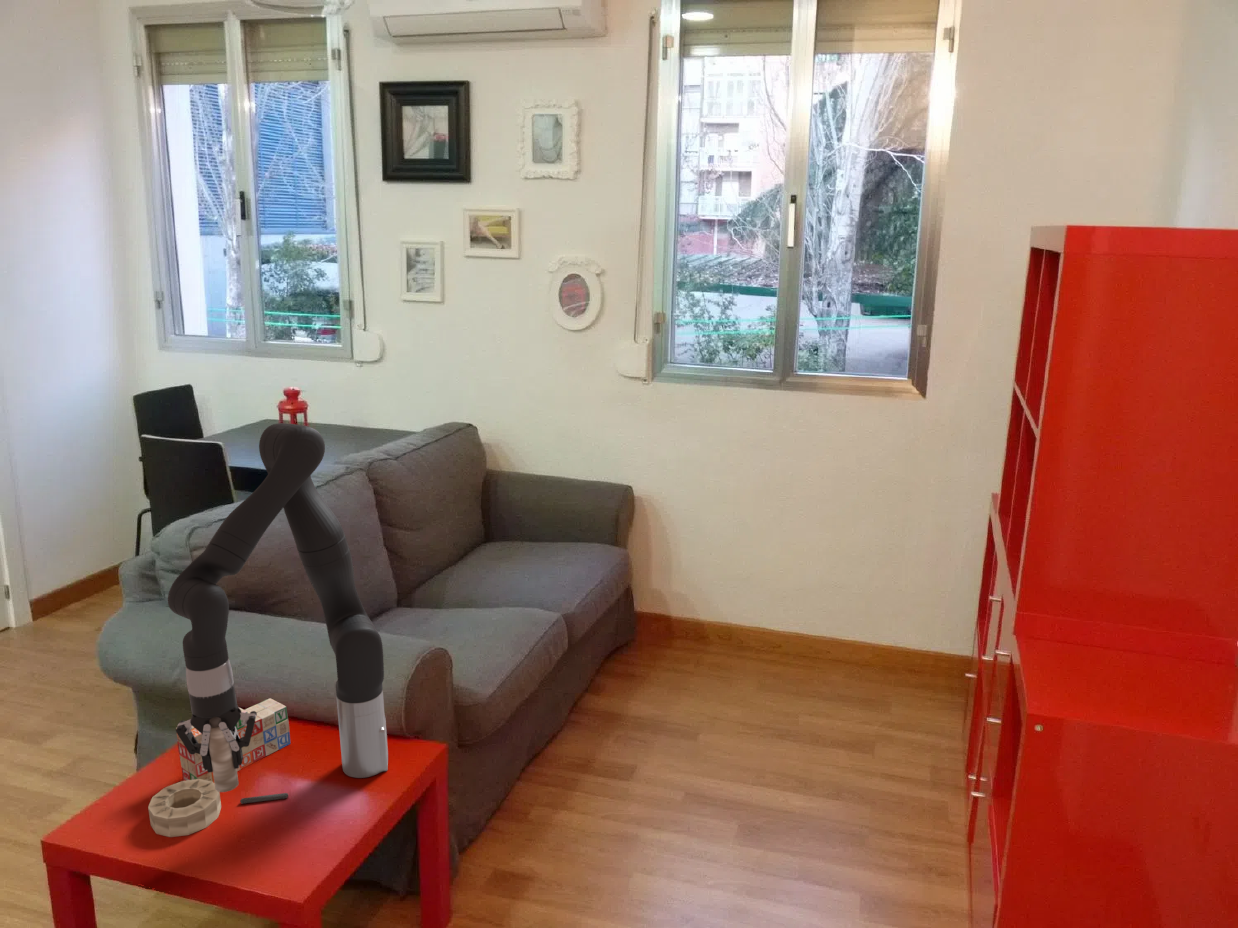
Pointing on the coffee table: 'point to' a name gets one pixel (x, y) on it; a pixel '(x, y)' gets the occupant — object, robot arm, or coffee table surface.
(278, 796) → the dark grey rod
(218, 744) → the grey tipped beige rod
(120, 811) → the coffee table surface
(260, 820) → the coffee table surface
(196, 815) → the bead
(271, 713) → the stack of blocks
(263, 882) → the coffee table surface
